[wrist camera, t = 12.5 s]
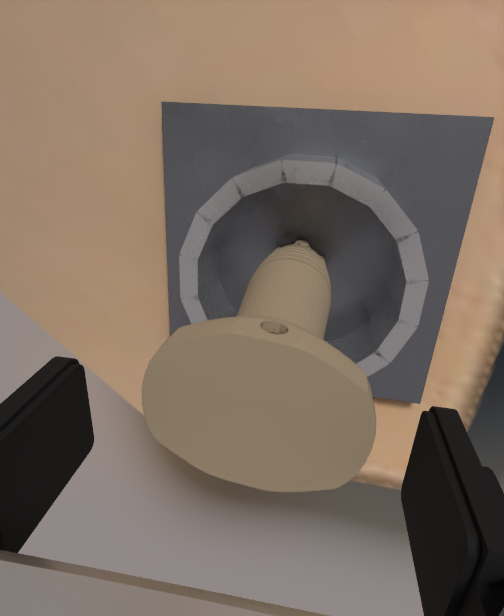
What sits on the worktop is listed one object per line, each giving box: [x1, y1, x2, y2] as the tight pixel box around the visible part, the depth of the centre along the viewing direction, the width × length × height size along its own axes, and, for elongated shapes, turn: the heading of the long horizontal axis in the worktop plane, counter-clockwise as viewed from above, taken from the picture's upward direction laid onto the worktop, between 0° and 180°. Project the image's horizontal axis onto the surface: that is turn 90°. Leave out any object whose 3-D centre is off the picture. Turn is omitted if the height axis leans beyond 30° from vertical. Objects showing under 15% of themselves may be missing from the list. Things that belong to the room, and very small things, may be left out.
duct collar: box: [162, 102, 494, 404], centre depth 24 cm, size 17×17×5 cm
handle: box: [142, 240, 376, 492], centre depth 18 cm, size 5×6×15 cm
